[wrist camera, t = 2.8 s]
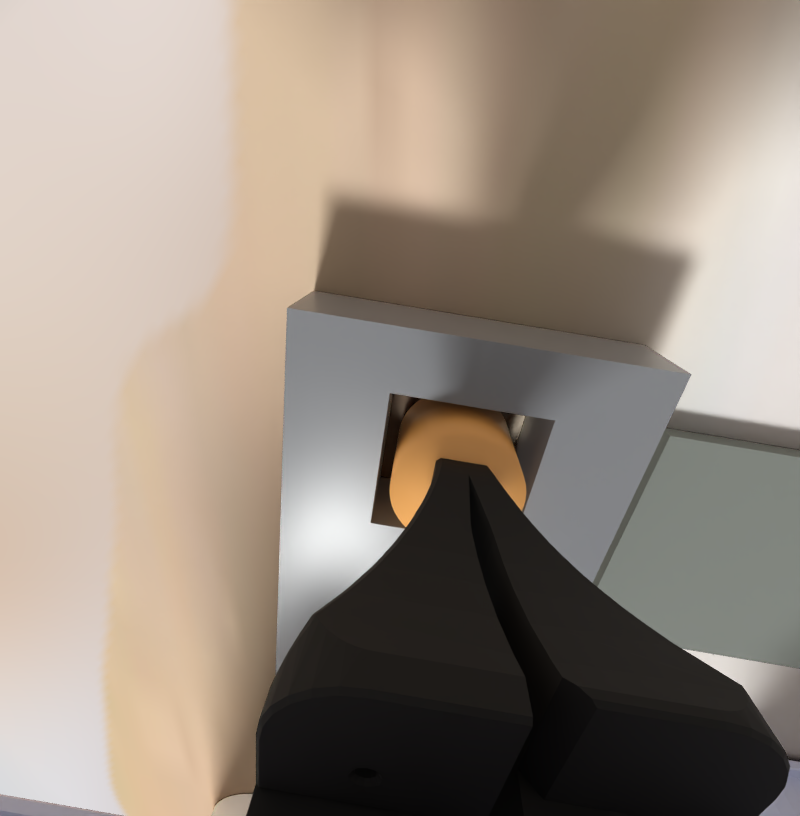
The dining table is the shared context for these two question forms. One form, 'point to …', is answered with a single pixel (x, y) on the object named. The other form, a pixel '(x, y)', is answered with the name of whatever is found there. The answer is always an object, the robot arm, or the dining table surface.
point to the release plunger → (450, 451)
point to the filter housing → (464, 385)
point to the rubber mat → (713, 548)
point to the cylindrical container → (233, 805)
